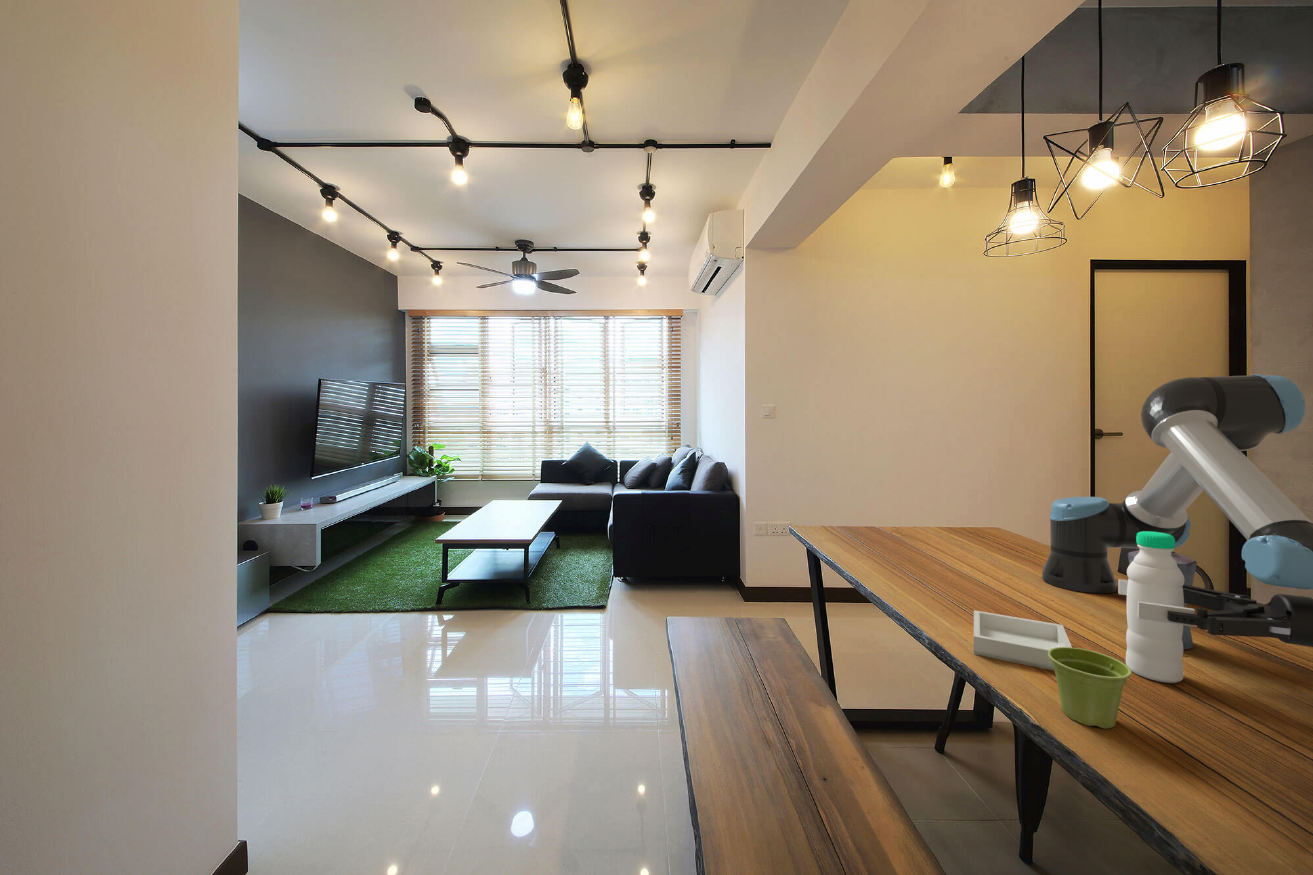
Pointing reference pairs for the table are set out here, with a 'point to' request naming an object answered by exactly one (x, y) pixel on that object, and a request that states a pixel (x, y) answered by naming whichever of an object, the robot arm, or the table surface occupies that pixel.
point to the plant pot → (1089, 685)
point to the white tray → (1017, 639)
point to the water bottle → (1155, 582)
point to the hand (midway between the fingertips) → (1127, 597)
